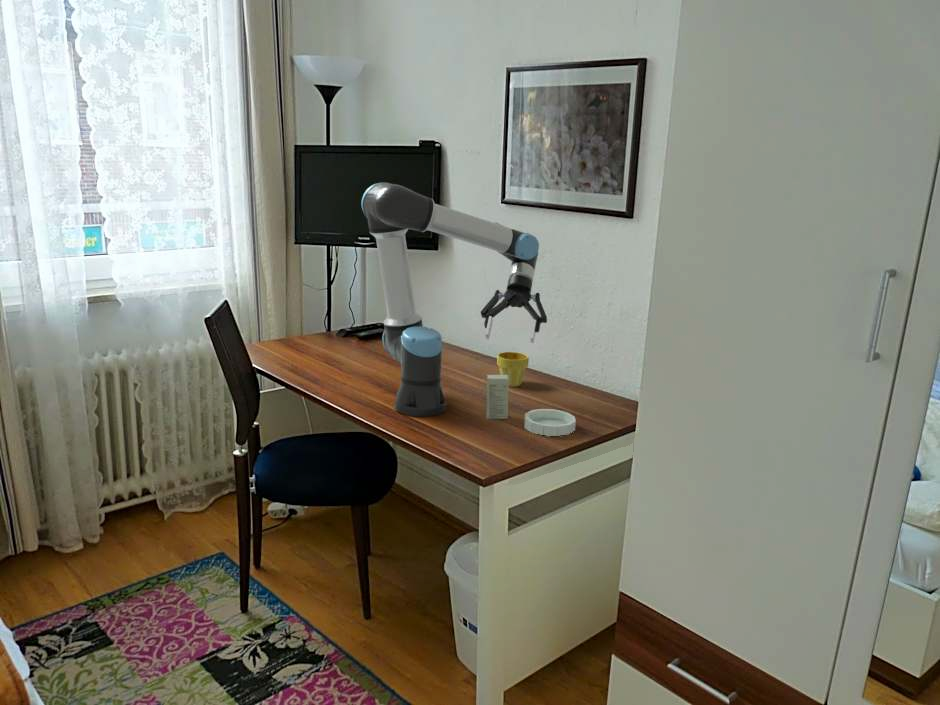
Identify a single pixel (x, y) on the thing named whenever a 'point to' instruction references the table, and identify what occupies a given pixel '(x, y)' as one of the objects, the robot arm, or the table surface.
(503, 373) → the plant pot
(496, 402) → the skincare box
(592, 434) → the table surface
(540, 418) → the celadon dish
